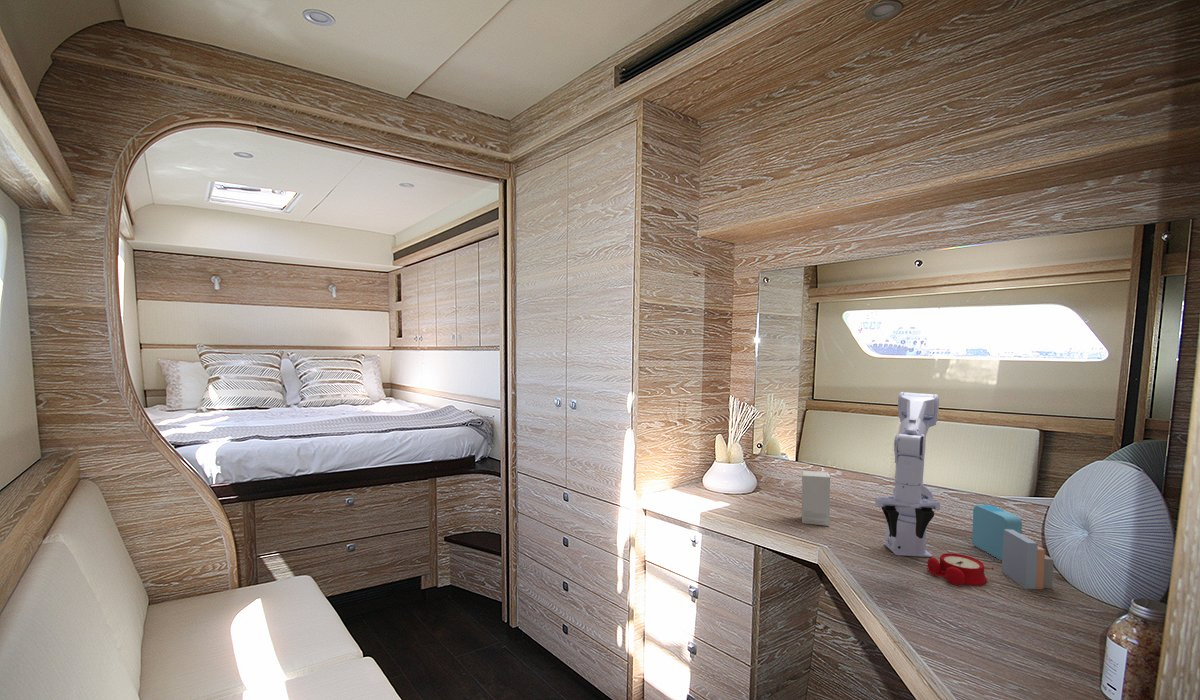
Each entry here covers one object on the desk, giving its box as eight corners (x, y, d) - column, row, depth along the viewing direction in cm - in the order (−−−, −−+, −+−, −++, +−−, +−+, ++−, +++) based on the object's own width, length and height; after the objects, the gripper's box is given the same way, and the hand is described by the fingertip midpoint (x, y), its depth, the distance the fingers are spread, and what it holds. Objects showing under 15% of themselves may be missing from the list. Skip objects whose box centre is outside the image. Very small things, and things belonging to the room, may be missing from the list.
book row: (1025, 588, 130) (1027, 542, 129) (1001, 571, 139) (1003, 529, 138) (1055, 590, 129) (1057, 544, 129) (1029, 573, 138) (1031, 530, 138)
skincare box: (828, 520, 175) (830, 472, 174) (829, 527, 168) (831, 477, 168) (800, 516, 177) (801, 469, 177) (800, 523, 171) (802, 474, 170)
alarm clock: (1001, 568, 133) (956, 561, 128) (995, 593, 132) (950, 587, 128) (961, 551, 143) (918, 544, 138) (956, 575, 142) (913, 568, 138)
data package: (1020, 562, 145) (1022, 518, 144) (1004, 562, 144) (1006, 518, 144) (986, 544, 157) (988, 503, 156) (971, 544, 156) (973, 503, 156)
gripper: (884, 485, 133) (882, 540, 133) (947, 488, 131) (945, 544, 132) (872, 477, 140) (870, 530, 140) (932, 480, 138) (930, 533, 139)
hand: (906, 536), depth 136 cm, fingers open, 6 cm apart
